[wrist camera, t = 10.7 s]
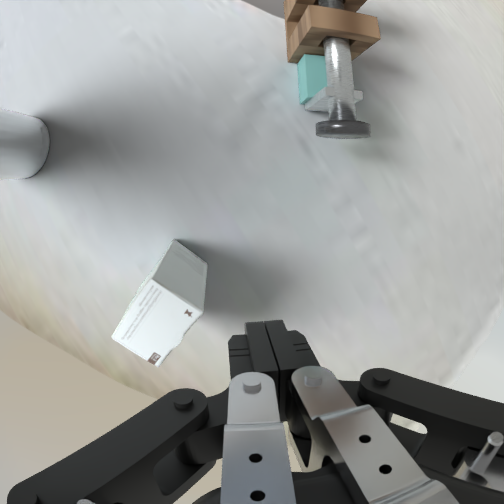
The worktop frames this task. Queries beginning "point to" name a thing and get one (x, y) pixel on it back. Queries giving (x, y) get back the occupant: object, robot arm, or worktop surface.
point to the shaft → (338, 90)
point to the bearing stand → (327, 27)
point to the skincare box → (164, 305)
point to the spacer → (311, 76)
